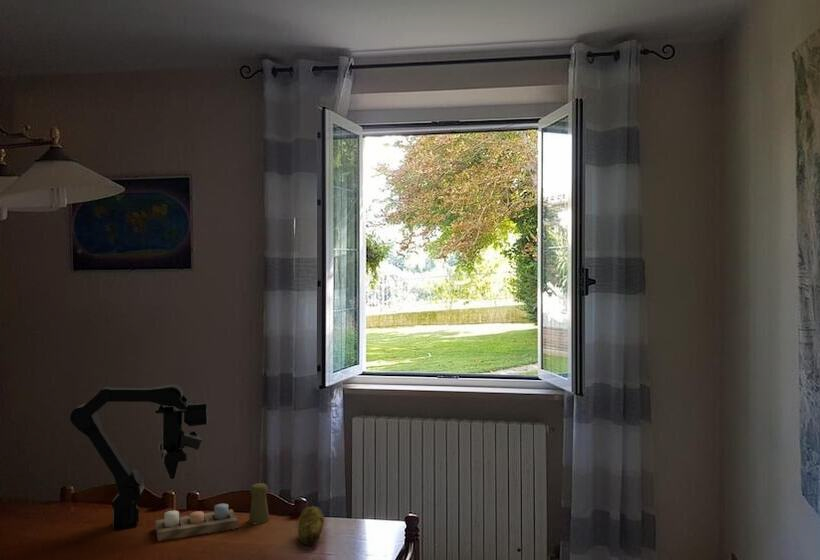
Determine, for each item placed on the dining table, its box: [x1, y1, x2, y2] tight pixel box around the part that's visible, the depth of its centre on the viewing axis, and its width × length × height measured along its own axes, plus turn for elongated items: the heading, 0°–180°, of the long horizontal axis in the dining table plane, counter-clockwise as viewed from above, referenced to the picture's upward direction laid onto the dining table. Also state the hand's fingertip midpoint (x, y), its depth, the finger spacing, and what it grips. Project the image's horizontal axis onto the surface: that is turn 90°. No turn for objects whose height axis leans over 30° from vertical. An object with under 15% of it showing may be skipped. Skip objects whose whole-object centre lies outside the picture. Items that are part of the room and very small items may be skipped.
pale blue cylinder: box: [213, 503, 229, 520], centre depth 195 cm, size 4×4×4 cm
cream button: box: [163, 510, 180, 528], centre depth 189 cm, size 4×4×4 cm
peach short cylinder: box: [189, 510, 204, 524], centre depth 192 cm, size 4×4×4 cm
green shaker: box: [248, 482, 270, 525], centre depth 199 cm, size 6×6×11 cm
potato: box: [297, 505, 325, 546], centre depth 185 cm, size 8×13×8 cm, turn 169°
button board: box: [155, 508, 239, 542], centre depth 192 cm, size 22×10×2 cm, turn 115°
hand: (172, 478), depth 198 cm, fingers closed
